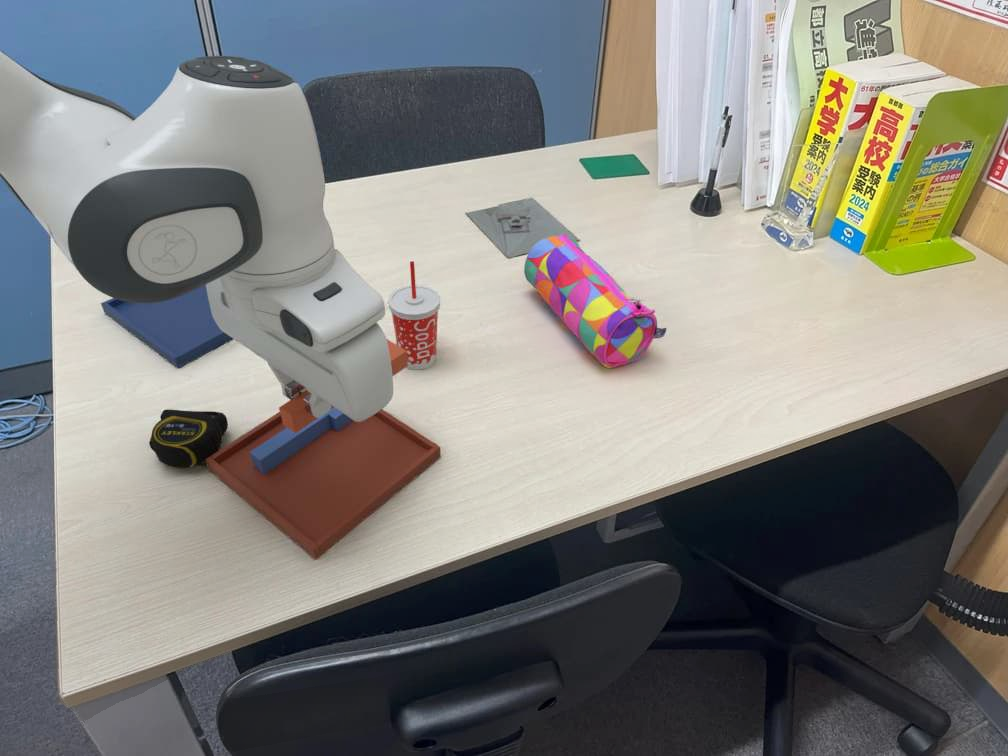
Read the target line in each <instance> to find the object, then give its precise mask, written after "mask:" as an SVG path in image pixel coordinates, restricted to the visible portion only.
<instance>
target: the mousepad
mask: <svg viewBox="0 0 1008 756" xmlns="http://www.w3.org/2000/svg"><path fill="white" fill-rule="evenodd" d="M420 194H421V192H420ZM465 214H466V216H467V217H468V218H470V219H471V220H472V222H473V223H474V224H475V225H476V226H477V227H478V228H479V229H480V230H481V231H482V232H483V233H484V235H486V236H487V238H488V239H489V240H490V241H491V242H492V243H493V244H494V246H496V247H497V248H498V249H499V250H500V251H501V252H502V253H503V255H505V257H506V258H507V259H510V258H513V257H517V256H522V255H525V254H529V252H530V250H531V249H532V248H533V246H534V245H535V244H536V243H537V242H539V241H540V240H542V239H545V238H548V237H552V236H561V235H566V236H567V237H570V238H572V239H573V240H575V241H576V242H578V241H580V238H579V237H577V236H576V235H575V234H574V233H573V232H572V231H571V230H569V229H568V228H567V227H566V226H565V225H563V223H561V221H559V220H558V219H557V218H556V217H555V216H553V214H551V213H550V212H549V211H548V210H547V209H546V208H545V207H544V206H542V204H540V203H539V202H538V201H537V200H536V199H534V197H528V198H523V199H518V200H513V201H509V202H505V203H500V204H497V206H492V207H487V208H483V209H478V210H477V209H476V210H473V211H468V212H465Z"/></svg>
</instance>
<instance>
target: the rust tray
mask: <svg viewBox="0 0 1008 756" xmlns="http://www.w3.org/2000/svg"><path fill="white" fill-rule="evenodd" d="M286 428H287V427H286V426H285V425H283V422H282V418H281V414H280V411H278V412H277V413H275V414H274V415H272V416H271V417H269V418H267V419H266V420H264V421H262V423H260V424H258V425H256V426H255V427H253V428H252V429H250V430H249V431H247V432H246V433H244V434H242V435H241V436H239V437H238V438H236V439H235V440H233V441H232V442H230V443H228V444H227V445H226V446H224V447H222V448H220V449H219V451H217V452H216V453H214V454H213V455H211V456H210V457H208V458H207V459H205V461H206V462H205V464H206V467H207V471H209V472H210V473H212V474H213V475H214V476H215V477H216V478H218V479H219V480H220V481H221V482H222V483H224V484H225V485H226V486H227V487H228V488H230V489H231V490H232V491H233V492H234V493H235V494H236V495H238V496H239V497H240V498H241V499H242V500H243V501H245V502H246V503H248V505H250V507H252V508H253V509H255V511H257V512H258V513H259V514H261V516H263V517H264V518H265V519H266V520H268V521H269V522H270V523H271V524H273V526H275V527H276V528H277V529H278V530H279V531H281V532H282V533H283V534H284V535H285V536H286V537H288V539H290V540H291V541H293V543H295V544H296V545H297V546H299V548H301V549H302V550H303V551H304V552H306V553H307V554H308V555H309V556H310V557H311V558H313V559H314V560H317V559H319V558H320V557H321V556H322V555H323V554H324V553H326V552H327V551H329V550H330V549H331V548H332V547H333V546H334V545H336V544H337V543H338V542H339V541H340V540H342V538H344V537H345V536H346V535H348V534H349V533H350V532H352V531H353V530H354V529H355V528H357V527H358V526H359V525H361V523H363V521H365V520H366V519H367V518H368V517H369V516H371V515H372V514H374V513H375V512H376V511H377V510H378V509H380V508H381V507H382V506H383V505H385V504H386V503H387V502H388V501H389V500H390V499H392V498H393V497H394V496H395V495H397V493H399V492H400V491H402V490H403V489H404V488H405V487H406V486H407V485H409V484H410V483H411V482H412V481H413V480H415V479H416V478H417V477H418V476H419V475H421V474H422V473H424V471H426V470H427V469H428V468H429V467H430V466H432V465H433V464H434V463H435V462H436V461H438V460H439V459H440V458H441V456H442V455H441V446H439V445H438V444H436V443H435V442H433V441H432V440H431V439H429V438H427V437H426V436H424V435H423V434H422V433H420V432H418V431H416V430H415V429H413V428H412V427H410V426H409V425H407V424H406V423H404V422H403V421H401V420H400V419H398V418H396V417H395V416H393V415H392V414H390V413H389V412H387V411H386V410H385V409H384V408H382V409H381V410H380V411H379V412H377V413H376V414H374V415H373V416H371V417H369V418H368V419H366V420H364V421H362V422H356V421H354V420H353V421H351V422H350V423H349V424H347V425H346V426H344V427H343V428H342V429H340V430H339V431H336V430H334V429H333V428H332V427H331V429H329V430H328V431H326V432H325V433H323V434H322V435H321V436H319V437H318V438H316V439H315V440H313V441H312V442H310V443H309V444H308V445H306V446H305V447H303V448H302V449H300V450H299V451H298V452H296V453H295V454H293V455H292V456H290V457H289V458H287V459H286V460H285V461H283V462H282V463H280V464H279V465H277V466H276V467H274V468H273V469H272V470H270V471H269V472H267V473H266V474H263V473H262V472H261V471H259V470H258V469H257V468H256V467H254V465H253V461H252V458H251V455H250V452H251V451H252V450H254V449H255V448H257V447H258V446H260V445H261V444H263V443H264V442H266V441H267V440H269V439H270V438H272V437H273V436H275V435H276V434H278V433H279V432H281V431H282V430H284V429H286Z"/></svg>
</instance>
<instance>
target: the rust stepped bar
mask: <svg viewBox="0 0 1008 756" xmlns="http://www.w3.org/2000/svg"><path fill="white" fill-rule="evenodd" d="M386 339H387V343H388V347H389V352H390V359H391V366H392V376H393V377H394V376H395V375H396V374H398V373H400V372H402V371H403V370H404V369H405V368H406V367H407V366H408V360H407V351H406V350H404V349H403V348H401V347H399V346H398V345H397V343H394V342H393V341H391V340H389V339H388V338H386ZM406 369H407V368H406ZM310 394H312V393H310V392H308V391H307V390H306V391H304V392H303V393H301V394H299V395H298V396H296V397H295V398H293V399H289V400H288V401H287V402H285V403H283V404H282V405H281V406H279V407H278V410H279V412H280V414H281V418H282V422H283V425H285V426H286V427H287V428H289V429H290V430H291V431H293V432H294V433H297V432H298V431H300V430H301V429H303V428H304V427H306V426H307V425H309V424H310V423H312V422H313V421H315V420H316V419H318V418H316V417H314V416H313V415H312V414H310V413H309V412H308V411H306V409H305V407H306V406H305V404H304V401H303V398H305V397H306V396H308V395H310ZM332 408H334V407H333V406H332V405H331V409H332ZM331 409H330V410H331Z"/></svg>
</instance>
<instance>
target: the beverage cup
mask: <svg viewBox="0 0 1008 756" xmlns="http://www.w3.org/2000/svg"><path fill="white" fill-rule="evenodd" d="M409 268H410V284H408V285H404V286H400V287H397V288H396V289H394V290H393V291H392V292H391V293H390V294H389V295H388V300H387V304H388V308H389V311H390V313H391V317H392V323H393V329H394V335H395V340H396V341H395V342H396V345H398V346H399V347H401V348H403V349H404V350H406V351H407V360H408V366H407V367H406V369H409V370H414V371H415V370H416V371H421V370H426V369H428V368H430V367H432V366H433V365H434V364H435V362H436V360H437V342H438V320H439V319H438V318H439V317H438V316H439V313H438V312H439V310H440V309H441V296H440V294H439V292H438V291H437V290H436V289H434V288H432V287H430V286H428V285H423V284H416V271H415V269H416V268H415V261H412V260H411V261H409Z"/></svg>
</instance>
